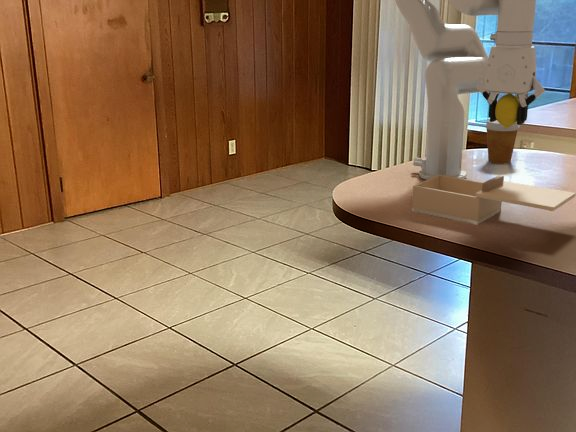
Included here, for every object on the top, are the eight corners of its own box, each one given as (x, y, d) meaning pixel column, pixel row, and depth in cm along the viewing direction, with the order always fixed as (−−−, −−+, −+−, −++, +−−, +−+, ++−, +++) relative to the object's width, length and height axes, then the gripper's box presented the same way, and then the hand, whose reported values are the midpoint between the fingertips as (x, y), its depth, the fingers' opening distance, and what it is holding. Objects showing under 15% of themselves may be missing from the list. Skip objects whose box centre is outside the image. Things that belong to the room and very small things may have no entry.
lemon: (518, 126, 151) (522, 91, 149) (519, 131, 146) (523, 94, 144) (493, 125, 153) (496, 91, 150) (493, 130, 148) (496, 94, 145)
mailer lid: (475, 196, 139) (476, 184, 138) (500, 184, 148) (501, 172, 147) (553, 211, 129) (554, 198, 128) (575, 196, 138) (576, 184, 137)
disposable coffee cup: (514, 158, 197) (518, 118, 193) (517, 166, 188) (521, 124, 184) (481, 157, 199) (484, 117, 195) (483, 165, 190) (486, 123, 186)
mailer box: (411, 210, 151) (412, 185, 149) (437, 198, 159) (439, 174, 158) (477, 224, 141) (479, 198, 139) (500, 211, 149) (503, 185, 147)
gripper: (469, 40, 146) (464, 121, 151) (548, 42, 135) (539, 129, 141) (483, 38, 151) (477, 116, 157) (560, 39, 141) (551, 123, 147)
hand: (507, 121), depth 149 cm, fingers closed on lemon, 5 cm apart
